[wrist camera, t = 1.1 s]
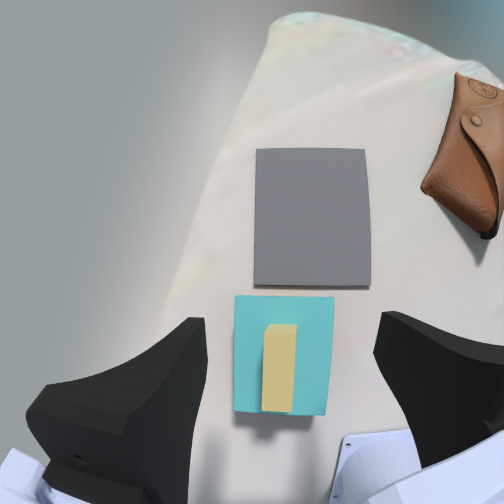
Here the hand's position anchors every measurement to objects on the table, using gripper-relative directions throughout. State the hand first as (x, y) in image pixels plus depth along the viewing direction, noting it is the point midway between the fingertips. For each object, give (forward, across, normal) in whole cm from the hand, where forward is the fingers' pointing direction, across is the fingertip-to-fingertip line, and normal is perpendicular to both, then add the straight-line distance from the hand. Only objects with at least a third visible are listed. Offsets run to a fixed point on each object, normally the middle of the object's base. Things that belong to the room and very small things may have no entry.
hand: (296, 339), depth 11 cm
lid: (+7, -1, +6) cm, 9 cm away
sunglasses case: (+12, -20, -11) cm, 26 cm away
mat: (+12, -3, -3) cm, 13 cm away
